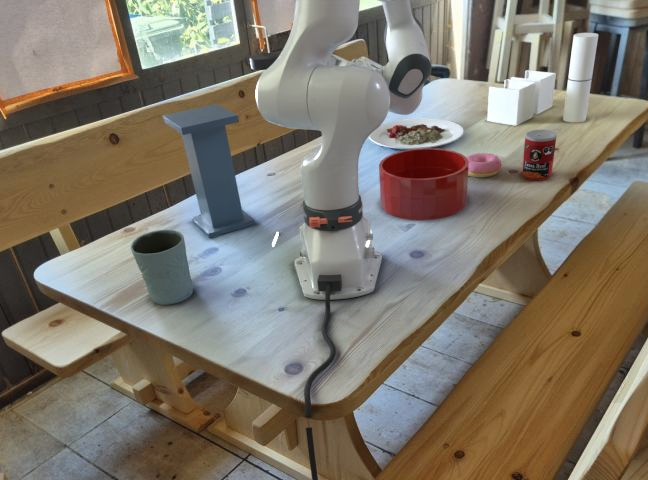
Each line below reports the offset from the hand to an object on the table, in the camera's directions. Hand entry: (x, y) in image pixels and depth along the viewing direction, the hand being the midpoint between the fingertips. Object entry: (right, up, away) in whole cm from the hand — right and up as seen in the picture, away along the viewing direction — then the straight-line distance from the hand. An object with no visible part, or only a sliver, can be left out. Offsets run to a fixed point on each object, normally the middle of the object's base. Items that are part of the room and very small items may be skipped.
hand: (312, 53), depth 138 cm
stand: (-23, -37, +11) cm, 45 cm away
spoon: (-6, -3, -1) cm, 6 cm away
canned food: (+58, -22, +22) cm, 66 cm away
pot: (+27, -31, +13) cm, 43 cm away
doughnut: (+44, -20, +26) cm, 55 cm away
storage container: (+66, +12, +67) cm, 95 cm away
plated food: (+29, -1, +54) cm, 61 cm away
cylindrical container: (+81, +7, +59) cm, 100 cm away
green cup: (-27, -57, -16) cm, 65 cm away
